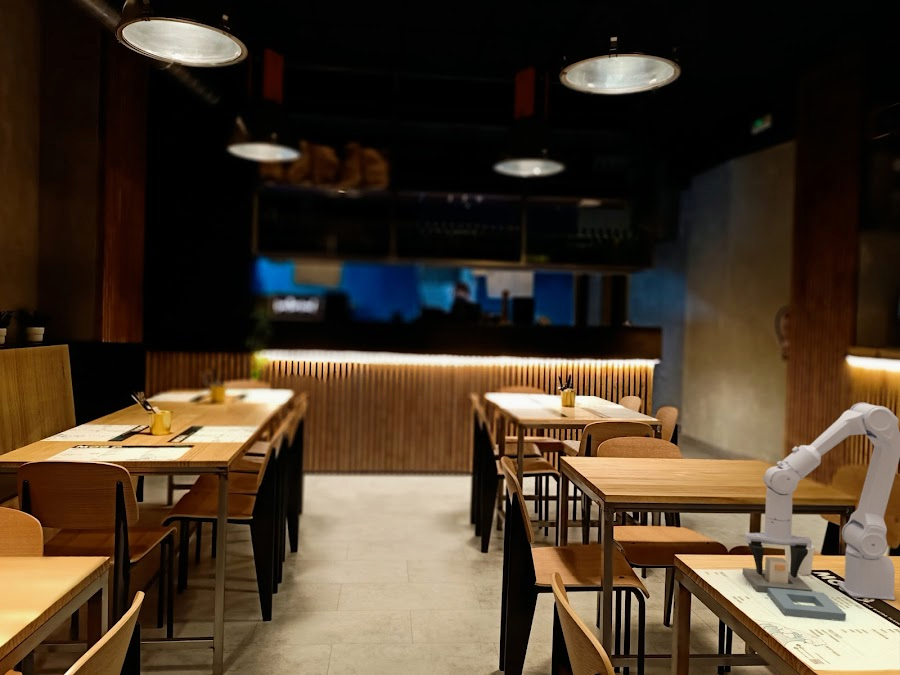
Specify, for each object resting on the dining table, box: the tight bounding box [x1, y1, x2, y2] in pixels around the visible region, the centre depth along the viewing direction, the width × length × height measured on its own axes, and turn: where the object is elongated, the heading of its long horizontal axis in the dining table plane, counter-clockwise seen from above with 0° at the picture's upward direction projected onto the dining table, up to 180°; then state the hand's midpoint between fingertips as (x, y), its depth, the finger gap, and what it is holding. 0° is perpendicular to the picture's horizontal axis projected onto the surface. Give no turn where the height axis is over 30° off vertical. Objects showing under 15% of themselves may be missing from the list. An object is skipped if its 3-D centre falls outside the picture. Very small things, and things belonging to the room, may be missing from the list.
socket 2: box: [766, 588, 847, 621], centre depth 149 cm, size 12×12×2 cm
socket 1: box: [742, 567, 813, 594], centre depth 162 cm, size 12×12×2 cm
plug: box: [764, 556, 789, 584], centre depth 161 cm, size 4×5×6 cm
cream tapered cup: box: [784, 544, 816, 576], centre depth 172 cm, size 7×7×7 cm
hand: (776, 574), depth 162 cm, fingers open, 7 cm apart
